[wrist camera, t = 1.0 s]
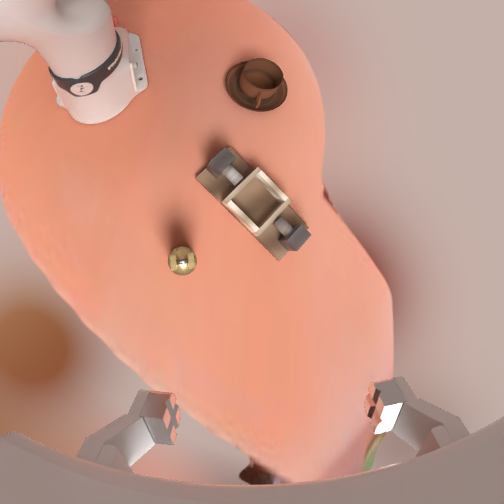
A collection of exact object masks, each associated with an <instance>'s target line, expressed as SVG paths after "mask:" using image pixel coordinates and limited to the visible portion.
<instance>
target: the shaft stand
mask: <svg viewBox="0 0 504 504" xmlns="http://www.w3.org/2000/svg"><path fill="white" fill-rule="evenodd" d="M196 180H197V181H198V182H199V183H200V184H201V185H202V186H203V187H204V188H205V189H207V190H208V191H209V192H210V193H211V194H212V195H213V196H214V197H215V198H216V199H217V200H218V201H219V202H220V203H221V204H222V205H223V206H224V207H225V208H226V209H227V210H228V211H229V212H230V213H231V214H232V215H233V216H234V217H235V218H236V219H237V220H238V221H239V222H240V223H241V224H242V225H243V226H244V227H245V228H246V229H247V230H248V231H249V232H250V233H251V234H252V235H253V236H254V237H255V238H256V239H257V240H258V241H259V242H260V243H261V244H262V245H263V246H264V247H265V248H266V249H267V250H268V251H269V252H270V253H271V254H272V255H273V256H274V257H275V258H276V259H277V260H281V259H282V258H283V256H284V255H285V254H286V253H287V252H288V251H298V249H299V248H300V247H301V246H302V245H303V244H304V243H305V241H306V240H307V239H308V238H309V237H310V236H311V234H310V233H309V232H308V231H307V229H308V228H309V227H308V226H307V225H306V224H305V223H304V222H303V221H302V220H301V219H300V218H299V216H298V215H297V214H296V213H295V212H294V211H293V210H292V209H291V208H290V207H289V206H288V205H289V204H290V203H291V200H290V199H289V198H288V197H287V196H286V195H285V194H284V193H283V192H282V191H281V190H280V189H279V188H278V187H277V186H276V185H275V184H274V183H273V182H272V180H271V179H270V178H269V177H268V176H267V175H266V174H265V173H264V172H263V171H262V170H261V169H260V168H259V167H257V168H256V169H255V170H253V169H252V168H251V167H250V166H249V165H248V164H247V163H246V162H245V161H244V160H243V159H242V158H241V157H240V156H239V155H238V154H237V153H236V152H235V151H234V150H233V149H232V148H231V147H228V148H226V147H225V148H224V149H223V150H221V151H220V152H219V153H218V154H217V155H216V156H215V157H214V158H213V159H211V160H210V161H209V163H208V166H207V167H206V168H205V169H204V170H203V171H202V172H201V173H200V174H199V175H198V176H197V177H196Z"/></svg>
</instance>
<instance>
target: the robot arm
mask: <svg viewBox="0 0 504 504" xmlns="http://www.w3.org/2000/svg"><path fill="white" fill-rule="evenodd" d="M117 24H118V18H117V16H115V17H112V13H111V8H110V6H109V4H108V3H107V2H106V1H105V0H0V42H5V41H6V42H7V41H9V42H19V43H24V44H27V45H29V46H31V47H33V48H34V49H35V50H36V51H37V52H38V53H39V54H40V55H41V56H42V58H43V59H44V60H45V61H46V63H47V64H48V66H49V71H50V74H51V76H52V78H53V81H52V84H53V86H54V88H55V90H56V92H57V94H58V96H57V99H56V101H57V103H58V105H59V106H61V107H63V108H66V109H67V110H68V112H69V113H70V115H71V116H72V117H73V118H74V119H75V120H77V121H79V122H81V123H85V124H96V123H101V122H104V121H107V120H109V119H111V118H113V117H114V116H116V115H118V114H119V113H120V112H121V111H123V110H124V109H125V108H126V107H127V105H128V104H129V103H130V102H131V100H132V99H133V98H134V97H135V96H136V95H137V94H139V93H140V92H142V91H143V90H145V89H146V88H147V86H148V80H147V75H146V70H145V65H144V59H143V54H142V48H141V43H140V38H139V36H138V35H136V34H133V33H128V31H127V29H125V28H122V27H116V26H117ZM139 79H142V80H139ZM368 390H369V394H368V395H367V396H366V399H365V411H366V414H367V416H368V417H369V418H371V422H370V425H371V427H372V430H373V432H374V434H378V433H382V432H387V431H391V430H392V431H393V432H394V433H395V434H397V435H398V436H399V437H400V438H402V439H403V440H404V441H406V442H407V443H408V444H410V445H411V446H412V447H414V448H415V449H416V450H418V451H419V452H418V454H417V455H416V457H414V458H412V459H409V460H405V461H402V462H399V463H396V464H392V465H389V466H385V467H381V468H378V469H374V470H370V471H365V472H361V473H356V474H352V475H347V476H341V477H336V478H330V479H323V480H316V481H308V482H299V483H288V484H272V485H220V484H204V483H193V482H184V481H175V480H168V479H162V478H156V477H150V476H145V475H140V474H135V473H134V472H133V471H132V469H131V468H130V466H131V465H133V463H135V462H136V461H137V460H138V459H139V458H140V457H141V456H143V455H144V454H145V453H146V452H147V451H148V450H149V449H150V448H151V447H152V446H153V445H155V443H158V444H167V445H174V442H175V439H176V435H177V433H176V431H175V429H176V428H177V427H178V426H179V423H180V409H179V406H178V405H177V404H175V402H176V396H175V394H174V393H168V392H159V391H149V390H140V391H138V393H137V395H136V398H135V400H134V402H133V404H132V406H131V408H130V410H129V413H128V415H126V414H125V415H123V416H121V417H119V418H118V419H116V420H115V421H113V422H111V423H110V424H108V425H106V426H105V427H103V428H102V429H100V430H98V431H97V432H95V433H93V434H91V435H90V436H88V437H86V439H85V441H84V443H83V445H82V447H81V449H80V451H79V452H78V455H77V457H75V456H72V455H70V454H67V453H64V452H62V451H59V450H56V449H54V448H51V447H49V446H47V445H44V444H42V443H40V442H37V441H35V440H33V439H31V438H29V437H27V436H25V435H23V434H21V433H18V432H10V433H6V434H4V435H1V436H0V504H504V417H502V418H500V419H499V420H497V421H495V422H493V423H492V424H490V425H488V426H486V427H484V428H482V429H480V430H478V431H476V432H475V433H472V434H470V433H469V432H468V430H467V429H466V427H465V426H464V424H463V422H462V421H461V419H460V418H459V417H458V416H455V415H453V414H451V413H449V412H447V411H445V410H443V409H441V408H439V407H437V406H434V405H432V404H430V403H428V402H426V401H424V400H422V399H417V398H416V396H415V394H414V393H413V391H412V390H411V388H410V386H409V385H408V383H407V382H406V380H405V378H404V377H402V376H400V377H396V378H392V379H386V380H381V381H377V382H371V383H370V384H369V387H368Z"/></svg>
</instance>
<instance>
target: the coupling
mask: <svg viewBox="0 0 504 504" xmlns="http://www.w3.org/2000/svg"><path fill="white" fill-rule="evenodd" d="M196 263H197V259H196V255H195V253H194V252H193V251H192V250H191V249H190V248H188V247H184V246H180V247H177V248H175V249H174V250H172V251H171V253H170V255H169V257H168V265H169V267H170V269H171V271H173V272H174V273H175V274H177V275H187V274H190V273H191V272H192V271H193V270H194V269H195V267H196Z"/></svg>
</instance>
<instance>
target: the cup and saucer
mask: <svg viewBox="0 0 504 504" xmlns="http://www.w3.org/2000/svg"><path fill="white" fill-rule="evenodd" d="M226 87H227V91H228V93H229V95H230V96H231V98H232V99H233V100H234V101H235V102H236V103H237V104H239V105H240V106H242V107H244V108H246V109H249V110H252V111H258V112H265V111H270V110H273V109H275V108H277V107H279V106H280V105H281V104H282V103H283V102H284V100H285V99H286V96H287V84H286V82H285V79H284V78H283V73H282V71H281V69H280V68H279V66H278V65H276V64H275V63H274V62H272V61H270V60H267V59H263V58H256V59H252V60H250V61H247V62H242V63H240V64H237V65H236V66H234V67H233V68H232V69H231V70H230V71H229V73H228V75H227V78H226Z"/></svg>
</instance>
